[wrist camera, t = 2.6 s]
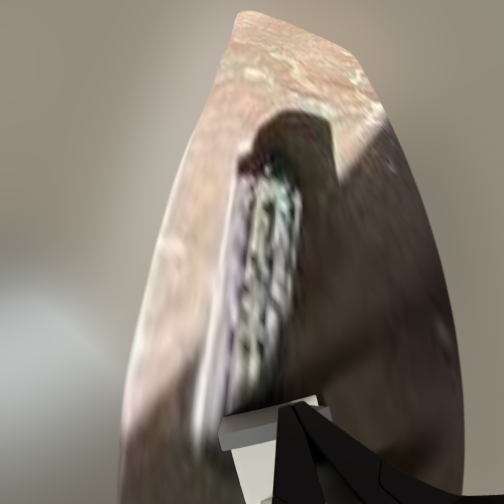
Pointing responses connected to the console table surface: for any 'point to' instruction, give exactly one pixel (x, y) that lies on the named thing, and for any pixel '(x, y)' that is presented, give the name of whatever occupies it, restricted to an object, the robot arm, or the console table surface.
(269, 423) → the white bracket
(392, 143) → the console table surface
